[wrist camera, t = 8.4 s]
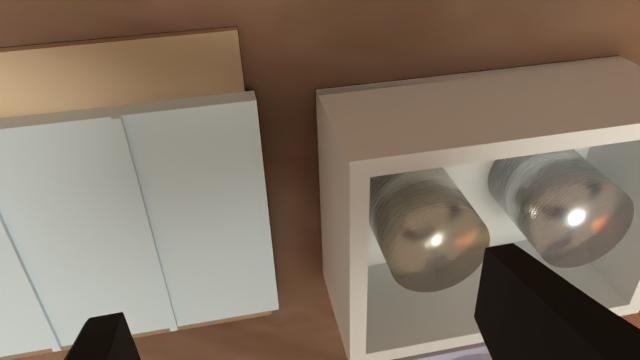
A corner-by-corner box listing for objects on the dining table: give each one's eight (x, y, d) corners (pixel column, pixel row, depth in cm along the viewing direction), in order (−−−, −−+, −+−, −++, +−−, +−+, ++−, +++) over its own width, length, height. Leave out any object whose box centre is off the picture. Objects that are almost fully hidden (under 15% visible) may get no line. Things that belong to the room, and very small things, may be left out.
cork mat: (270, 307, 24) (271, 314, 24) (-11, 355, 23) (-14, 363, 22) (236, 26, 17) (237, 30, 17) (-181, 65, 15) (-189, 69, 15)
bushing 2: (558, 199, 23) (618, 259, 20) (482, 211, 23) (530, 275, 20) (577, 127, 21) (646, 180, 18) (494, 138, 21) (550, 195, 18)
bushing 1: (440, 217, 23) (482, 283, 19) (358, 230, 22) (387, 299, 19) (449, 144, 21) (497, 203, 17) (359, 156, 20) (391, 219, 17)
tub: (619, 55, 21) (726, 111, 16) (567, 235, 26) (638, 312, 21) (315, 89, 19) (349, 161, 15) (323, 275, 24) (349, 367, 20)
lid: (254, 90, 18) (266, 145, 15) (276, 295, 23) (289, 367, 20) (-220, 142, 16) (-320, 219, 13) (-74, 354, 21) (-120, 443, 18)
